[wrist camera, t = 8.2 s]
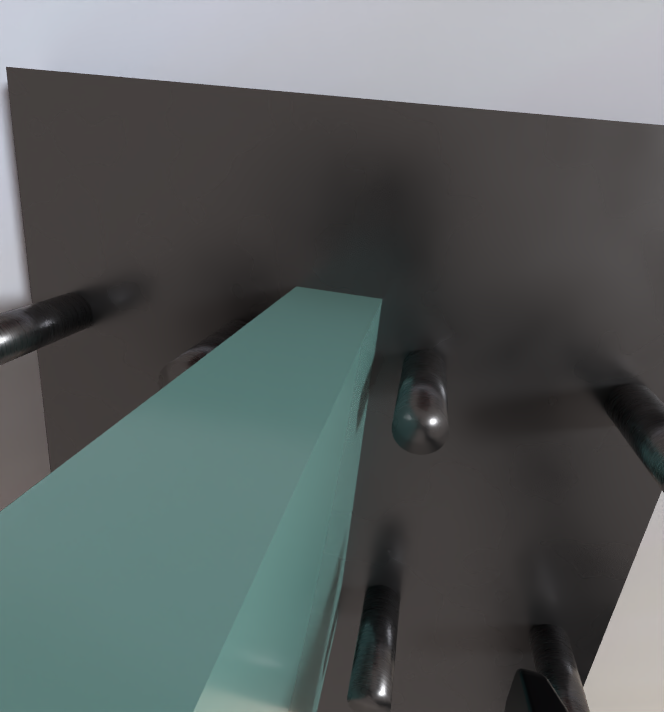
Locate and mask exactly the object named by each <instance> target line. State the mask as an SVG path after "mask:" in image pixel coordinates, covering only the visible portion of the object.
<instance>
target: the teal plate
mask: <svg viewBox="0 0 664 712" xmlns="http://www.w3.org/2000/svg"><path fill="white" fill-rule="evenodd" d="M381 305H382V299H379V298H372V297H365V296H358V295H351V294H345V293H338V292H331V291H324V290H318V289H311V288H304V287H297V286H296V287H295V288H294V289H292V290H291V291H290V292H289V293H287V294H286V295H285V296H283V297H282V298H281V299H279V300H278V301H277V302H275V303H274V304H273V305H271V306H270V307H269V308H267V309H266V310H265V311H264V312H262V313H261V314H260V315H258V316H257V317H256V318H254V319H253V320H252V321H250V322H249V323H248V324H246V325H245V326H244V327H242V328H241V329H240V330H239V331H237V332H236V333H235V334H233V335H232V336H231V337H229V338H228V339H227V340H225V341H224V342H223V343H221V344H220V345H219V346H217V347H216V348H215V349H214V350H212V351H211V352H210V353H208V354H207V355H206V356H204V357H203V358H202V359H200V360H199V361H198V362H196V363H195V364H194V365H192V366H191V367H190V368H189V369H187V370H186V371H185V372H183V373H182V374H181V375H179V376H178V377H177V378H175V379H174V380H173V381H171V382H170V383H169V384H167V385H166V386H165V387H164V388H162V389H161V390H160V391H158V392H157V393H156V394H154V395H153V396H152V397H150V398H149V399H148V400H146V401H145V402H144V403H142V404H141V405H140V406H139V407H137V408H136V409H135V410H133V411H132V412H131V413H129V414H128V415H127V416H125V417H124V418H123V419H121V420H120V421H119V422H117V423H116V424H115V425H114V426H112V427H111V428H110V429H108V430H107V431H106V432H104V433H103V434H102V435H100V436H99V437H98V438H96V439H95V440H94V441H92V442H91V443H90V444H89V445H87V446H86V447H85V448H83V449H82V450H81V451H79V452H78V453H77V454H75V455H74V456H73V457H71V458H70V459H69V460H67V461H66V462H65V463H64V464H62V465H61V466H60V467H58V468H57V469H56V470H54V471H53V472H52V473H50V474H49V475H48V476H46V477H45V478H44V479H43V480H41V481H40V482H39V483H37V484H36V485H35V486H33V487H32V488H31V489H29V490H28V491H27V492H25V493H24V494H23V495H21V496H20V497H19V498H18V499H16V500H15V501H14V502H12V503H11V504H10V505H8V506H7V507H6V508H4V509H3V510H2V511H0V712H317V709H318V704H319V700H320V695H321V691H322V686H323V682H324V678H325V673H326V669H327V664H328V660H329V655H330V651H331V647H332V642H333V638H334V633H335V629H336V622H337V615H338V608H339V601H340V594H341V587H342V580H343V573H344V566H345V559H346V552H347V545H348V538H349V531H350V523H351V516H352V509H353V502H354V495H355V488H356V481H357V474H358V467H359V460H360V453H361V446H362V439H363V432H364V425H365V418H366V411H367V403H368V396H369V389H370V382H371V375H372V368H373V361H374V354H375V347H376V340H377V333H378V326H379V319H380V312H381Z"/></svg>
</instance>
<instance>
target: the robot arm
mask: <svg viewBox="0 0 664 712" xmlns="http://www.w3.org/2000/svg"><path fill="white" fill-rule="evenodd" d="M505 712H569V711H568V710H567V708H566V707H565V705H564V704H563V702H562V701H561V699H560V697H559V696H558V694H557V693H556V691H555V690H554V688H553V687H552V685H551V683H550V682H549V680H548V679H547V678H546V677H545V676H544V675H543V674H542V673H539V672H535V671H531V670H527V669H523V668H520V669H518V670H517V671H516V673H515V675H514V678H513V682H512V685H511V688H510V691H509V694H508V697H507V700H506V705H505Z"/></svg>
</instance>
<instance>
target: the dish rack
mask: <svg viewBox="0 0 664 712" xmlns="http://www.w3.org/2000/svg"><path fill="white" fill-rule="evenodd" d="M6 71H7V80H8V89H9V98H10V107H11V116H12V125H13V134H14V143H15V152H16V161H17V170H18V179H19V188H20V197H21V206H22V215H23V225H24V234H25V243H26V252H27V261H28V270H29V279H30V288H31V297H32V304H30V305H27V306H24V307H21V308H17V309H14V310H11V311H8V312H4V313H1V314H0V365H2V364H4V363H6V362H9V361H11V360H14V359H16V358H18V357H21V356H23V355H25V354H28V353H30V352H32V351H35V350H37V351H38V360H39V369H40V378H41V387H42V396H43V405H44V414H45V423H46V432H47V441H48V450H49V460H50V469H51V473H52V472H53V471H54V470H56V469H57V468H58V467H60V466H61V465H62V464H64V463H65V462H66V461H67V460H69V459H70V458H71V457H73V456H74V455H75V454H77V453H78V452H79V451H81V450H82V449H83V448H85V447H86V446H87V445H89V444H90V443H91V442H92V441H94V440H95V439H96V438H98V437H99V436H100V435H102V434H103V433H104V432H106V431H107V430H108V429H110V428H111V427H112V426H114V425H115V424H116V423H117V422H119V421H120V420H121V419H123V418H124V417H125V416H127V415H128V414H129V413H131V412H132V411H133V410H135V409H136V408H137V407H139V406H140V405H141V404H142V403H144V402H145V401H146V400H148V399H149V398H150V397H152V396H153V395H154V394H156V393H157V392H158V391H160V390H161V389H162V388H164V387H165V386H166V385H167V384H169V383H170V382H171V381H173V380H174V379H175V378H177V377H178V376H179V375H181V374H182V373H183V372H185V371H186V370H187V369H189V368H190V367H191V366H192V365H194V364H195V363H196V362H198V361H199V360H200V359H202V358H203V357H204V356H206V355H207V354H208V353H210V352H211V351H212V350H214V349H215V348H216V347H217V346H219V345H220V344H221V343H223V342H224V341H225V340H227V339H228V338H229V337H231V336H232V335H233V334H235V333H236V332H237V331H239V330H240V329H241V328H242V327H244V326H245V325H246V324H248V323H249V322H250V321H252V320H253V319H254V318H256V317H257V316H258V315H260V314H261V313H262V312H264V311H265V310H266V309H267V308H269V307H270V306H271V305H273V304H274V303H275V302H277V301H278V300H279V299H281V298H282V297H283V296H285V295H286V294H287V293H289V292H290V291H291V290H292V289H294V288H295V287H296V286H297V287H304V288H311V289H318V290H324V291H331V292H338V293H345V294H351V295H358V296H365V297H372V298H379V299H382V305H381V312H380V319H379V326H378V333H377V340H376V347H375V354H374V361H373V368H372V375H371V382H370V389H369V396H368V403H367V411H366V418H365V425H364V432H363V439H362V446H361V453H360V460H359V467H358V474H357V481H356V488H355V495H354V502H353V509H352V516H351V523H350V531H349V538H348V545H347V552H346V559H345V566H344V573H343V580H342V587H341V594H340V601H339V608H338V615H337V622H336V629H335V633H334V638H333V642H332V647H331V651H330V655H329V660H328V664H327V669H326V673H325V678H324V682H323V686H322V691H321V695H320V700H319V704H318V709H317V712H505V705H506V700H507V697H508V694H509V691H510V688H511V685H512V682H513V678H514V675H515V673H516V671H517V670H518V669H520V668H523V669H527V670H531V671H535V672H539V673H542V674H543V675H544V676H545V677H546V678H547V679H548V680H549V682H550V683H551V685H552V687H553V688H554V690H555V691H556V693H557V694H558V696H559V697H560V699H561V701H562V702H563V704H564V705H565V707H566V708H567V710H568V711H569V712H590V711H589V707H588V704H587V700H586V697H585V693H584V690H583V686H584V684H585V681H586V679H587V676H588V674H589V671H590V669H591V666H592V664H593V661H594V659H595V656H596V653H597V651H598V648H599V646H600V643H601V641H602V638H603V636H604V633H605V631H606V628H607V626H608V623H609V621H610V618H611V616H612V613H613V611H614V608H615V606H616V603H617V601H618V598H619V596H620V593H621V591H622V588H623V586H624V583H625V581H626V578H627V576H628V573H629V571H630V568H631V566H632V563H633V561H634V558H635V556H636V553H637V551H638V548H639V546H640V543H641V541H642V538H643V536H644V533H645V531H646V528H647V526H648V523H649V521H650V518H651V516H652V513H653V511H654V508H655V506H656V503H657V501H658V498H659V496H660V493H661V491H663V492H664V125H653V124H642V123H631V122H619V121H608V120H597V119H586V118H575V117H563V116H552V115H541V114H530V113H518V112H507V111H496V110H485V109H473V108H462V107H451V106H440V105H428V104H417V103H406V102H395V101H384V100H372V99H361V98H350V97H339V96H327V95H316V94H305V93H294V92H282V91H271V90H260V89H249V88H237V87H226V86H215V85H204V84H193V83H181V82H170V81H159V80H148V79H136V78H125V77H114V76H103V75H91V74H80V73H69V72H58V71H46V70H35V69H24V68H13V67H6Z"/></svg>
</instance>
